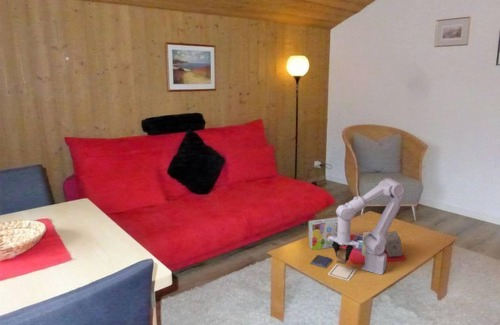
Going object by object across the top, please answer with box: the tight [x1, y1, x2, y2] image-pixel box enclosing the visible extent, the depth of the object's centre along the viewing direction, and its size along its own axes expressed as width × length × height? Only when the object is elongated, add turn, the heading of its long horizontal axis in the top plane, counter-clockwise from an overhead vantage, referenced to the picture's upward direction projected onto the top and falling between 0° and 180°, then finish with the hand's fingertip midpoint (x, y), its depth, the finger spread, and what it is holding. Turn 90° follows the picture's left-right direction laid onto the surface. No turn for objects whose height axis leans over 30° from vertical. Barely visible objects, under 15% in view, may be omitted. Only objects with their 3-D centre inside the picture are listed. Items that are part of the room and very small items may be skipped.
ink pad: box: [309, 254, 333, 269], centre depth 183 cm, size 8×9×1 cm
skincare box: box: [361, 231, 369, 257], centre depth 187 cm, size 6×4×12 cm
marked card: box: [327, 263, 357, 282], centre depth 173 cm, size 10×11×1 cm
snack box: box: [308, 216, 344, 251], centre depth 198 cm, size 21×6×15 cm, turn 104°
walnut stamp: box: [336, 247, 350, 265], centre depth 171 cm, size 4×5×5 cm
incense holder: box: [384, 230, 403, 258], centre depth 189 cm, size 10×8×10 cm
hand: (342, 258), depth 171 cm, fingers closed on walnut stamp, 4 cm apart
